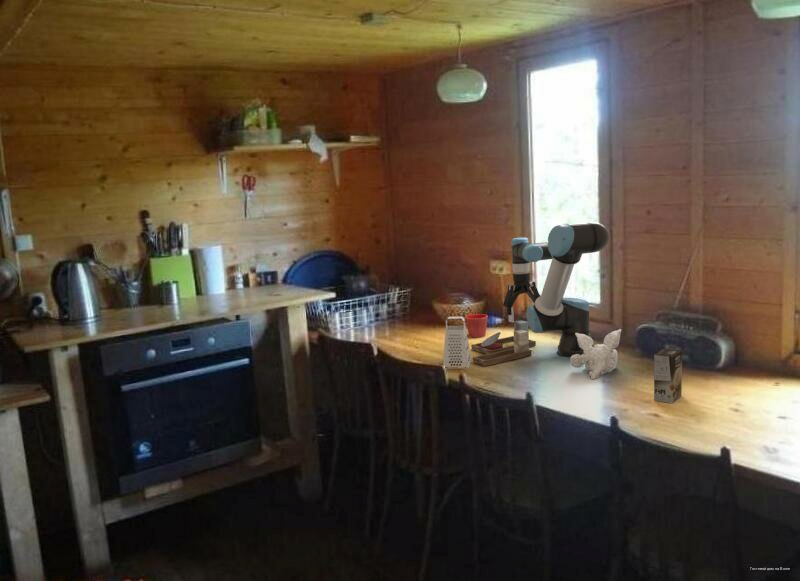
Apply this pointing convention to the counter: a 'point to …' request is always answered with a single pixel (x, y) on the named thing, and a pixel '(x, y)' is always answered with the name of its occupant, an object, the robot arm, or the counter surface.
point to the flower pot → (476, 325)
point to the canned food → (492, 342)
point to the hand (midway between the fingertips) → (523, 319)
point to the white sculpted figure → (597, 354)
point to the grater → (456, 345)
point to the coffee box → (667, 375)
